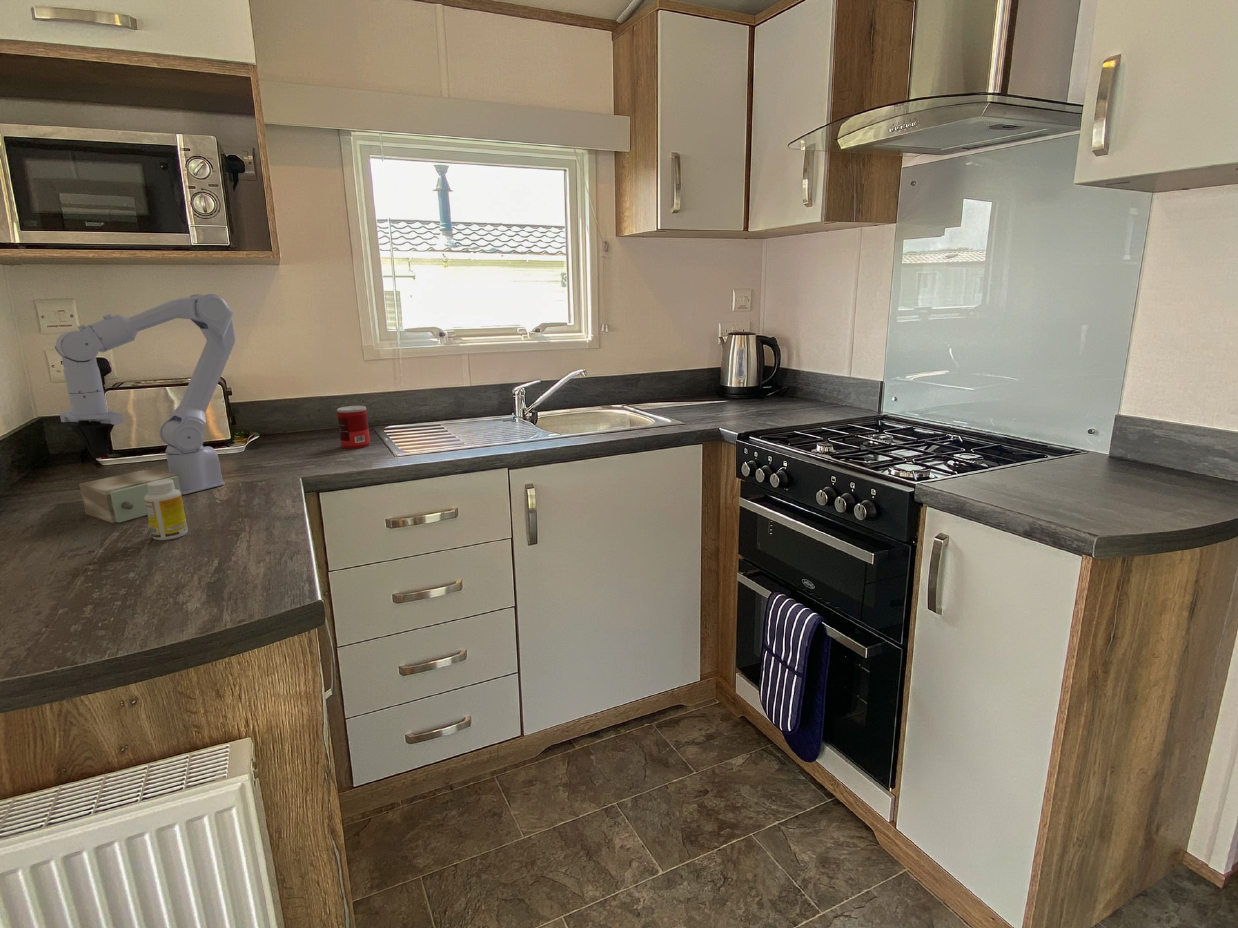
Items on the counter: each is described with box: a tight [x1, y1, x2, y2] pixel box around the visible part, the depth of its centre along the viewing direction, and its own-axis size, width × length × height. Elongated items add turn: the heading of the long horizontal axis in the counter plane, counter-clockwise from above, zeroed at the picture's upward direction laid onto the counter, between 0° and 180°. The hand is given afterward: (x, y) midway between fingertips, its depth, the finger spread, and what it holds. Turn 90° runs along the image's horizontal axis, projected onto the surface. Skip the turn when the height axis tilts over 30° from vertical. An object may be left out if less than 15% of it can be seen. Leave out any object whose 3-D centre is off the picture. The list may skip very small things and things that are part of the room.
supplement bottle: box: [144, 479, 189, 541], centre depth 123 cm, size 6×6×10 cm
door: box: [110, 476, 184, 523], centre depth 136 cm, size 12×2×6 cm, turn 153°
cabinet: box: [79, 468, 177, 523], centre depth 140 cm, size 13×11×6 cm
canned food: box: [336, 405, 371, 450], centre depth 194 cm, size 8×8×11 cm
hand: (99, 457), depth 141 cm, fingers closed
